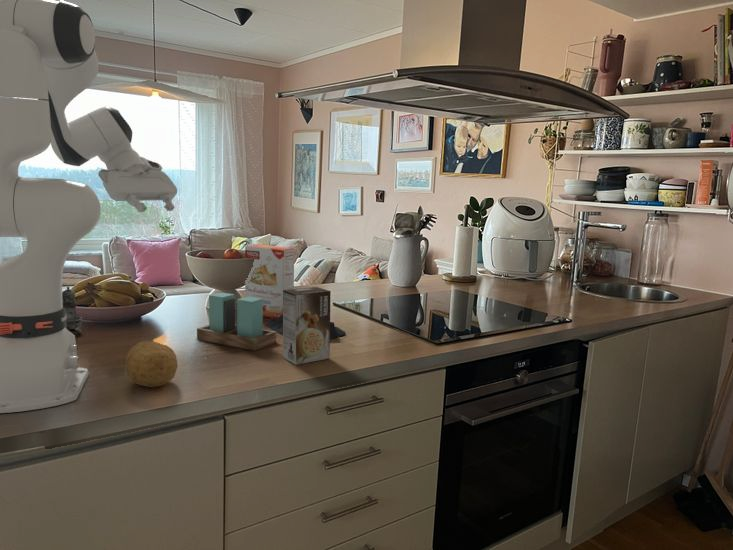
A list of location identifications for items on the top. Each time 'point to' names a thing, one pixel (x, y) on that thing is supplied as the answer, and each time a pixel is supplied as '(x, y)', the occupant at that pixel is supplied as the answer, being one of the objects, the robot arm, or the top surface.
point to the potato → (151, 364)
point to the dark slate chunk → (278, 327)
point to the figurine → (71, 311)
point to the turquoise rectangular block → (249, 317)
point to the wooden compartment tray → (236, 338)
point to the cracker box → (270, 276)
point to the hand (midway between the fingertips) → (157, 210)
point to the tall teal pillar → (222, 312)
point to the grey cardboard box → (306, 325)
